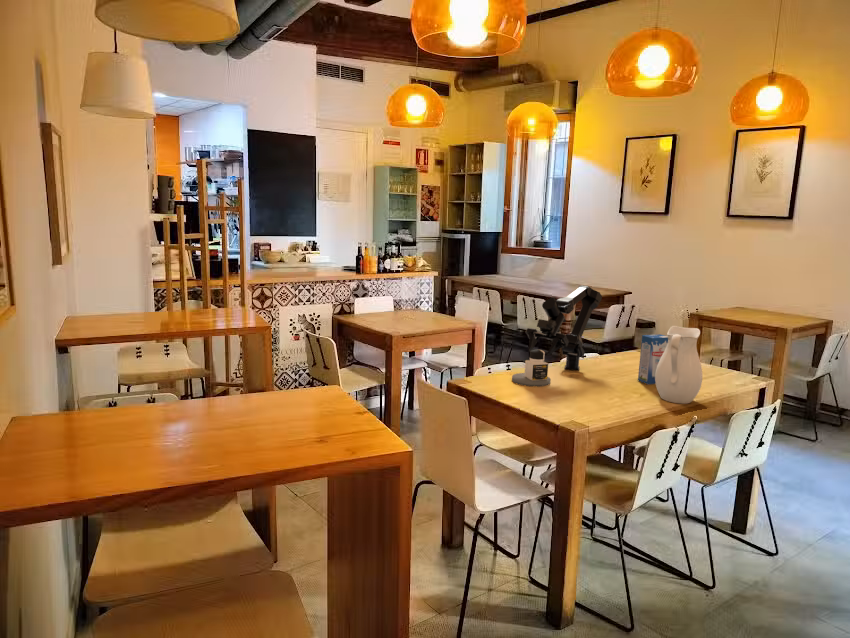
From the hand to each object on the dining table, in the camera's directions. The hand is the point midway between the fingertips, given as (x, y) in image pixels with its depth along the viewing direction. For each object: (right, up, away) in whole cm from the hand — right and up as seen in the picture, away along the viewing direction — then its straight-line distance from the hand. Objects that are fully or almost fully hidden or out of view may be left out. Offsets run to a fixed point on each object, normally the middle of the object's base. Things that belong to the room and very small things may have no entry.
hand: (538, 352), depth 265 cm
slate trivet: (-3, -12, -1) cm, 12 cm away
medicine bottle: (-2, -11, -2) cm, 11 cm away
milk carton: (+50, -13, +5) cm, 52 cm away
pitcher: (+48, -18, -23) cm, 56 cm away
